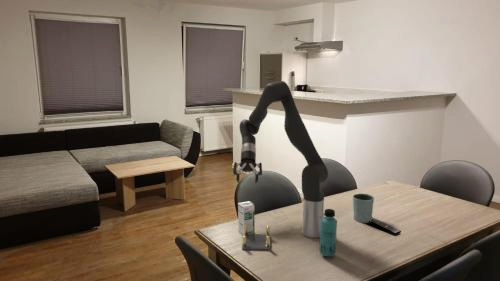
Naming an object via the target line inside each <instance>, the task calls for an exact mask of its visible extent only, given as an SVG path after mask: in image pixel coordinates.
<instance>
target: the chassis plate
mask: <svg viewBox="0 0 500 281" xmlns="http://www.w3.org/2000/svg"><path fill="white" fill-rule="evenodd" d="M265 228H266V234H255V233H254V234H247V225H245V226H244V236H243V235H242V246H241V250H243V251H244V250H245V251H247V250H250V251H271V234H270V228H271V227H270V225H266V227H265Z"/></svg>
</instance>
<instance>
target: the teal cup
mask: <svg viewBox="0 0 500 281" xmlns="http://www.w3.org/2000/svg"><path fill="white" fill-rule="evenodd" d="M374 201H375V198H374V196H373V195H371V194H367V193H355V194H353V195H352V202H353V203H352V207H353V219H354V221H355V222H357V223H363V224H365V223H367V224H368V223H370V222H371V221H372V218H373V209H374ZM370 220H371V221H370ZM369 221H370V222H369Z"/></svg>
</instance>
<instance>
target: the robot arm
mask: <svg viewBox="0 0 500 281" xmlns="http://www.w3.org/2000/svg"><path fill="white" fill-rule="evenodd" d="M278 102H281V104H282V107H283V109H284V123H283V124H284V125H283V126H284V131H285V134H286V136H287V138H288V140H289V142H290V143H291V145H292V146H293V147H294V148H295V149H296V150H297V151H298V152H300V154H302V156H303V157H304V159H305V161H306V163H307V166H305V167H303V169H302V171H301V192H302V195H303V202H302V203H303V204H302V235H303V236H305V237H307V238H313V239H317V238H320V236H321V220H322V219H323V218H324V217H325V215H324V213H325V209H324V208H325V207H324V205H325V193H324V192H323V191H322V190H321V188H320V185H321V183H324V182H326V181H327V179H328V177H329V171H328V167H327V166H326V164H325V163H324V161H323V159H322V158H321V155H320V154H319V152H318V150H317V148H316V147H315V144H314V142H313V140H312V138H311V137H310V133H309V132H308V129H307V127H306V125H305V122H304V121H303V119H302V117H301V115H300V113H299V111H298V107H297V106H296V103H295V100H294V97H293V95H292V92H291V89H290V86H289V85H288V83H287V82H285V81H283V80H279V81H274V82H270V83H267V84H266V86H264V88H263V91H262V93H261V96H260V97H259V100H258V102H257V104H256V106H255V108H254V109H253V111H252V112H251V113H250V115H249V116H248V119H242V120H241V121H240V123H239V133H240V135H241V150H240V162H239V163H237V162H236V161H235V162H234V163H233V169H232V173H233V175H234V176H236V178H235V179H236V182H237V183H238V184H239V183H240V181H241V180H240V177H241V175H242V174H243V173H251V172H252V173H253V174H254V176H255V179H254V180H255V184H257V183H259V177H260V176H262V175H263V165H262V162H259V163H257V161H256V157H257V156H256V154H257V150H256V141H257V140H256V136H255V135H257V134H258V133H259V131H260V128H261V125H262V122H263V121H264V120H265V119H266V117H267V115H268V108H269V107H270V105H272V104H274V103H278ZM238 168H239V169H238ZM256 168H257V169H258V170H259V171H258V170H257V169H256ZM237 169H238V170H237Z"/></svg>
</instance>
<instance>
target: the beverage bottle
mask: <svg viewBox="0 0 500 281" xmlns="http://www.w3.org/2000/svg"><path fill="white" fill-rule="evenodd" d="M335 211H336V210H334V209H332V208H327V209H324V212H323V213H324V218H323V219H322V220H321V236H320V237H319V239H320V240H319V254H321V255H322V256H324V257H333V256H335V254H336V252H337V228H338V220H337V219H336V218H335V216H336V214H335V213H336V212H335Z"/></svg>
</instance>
